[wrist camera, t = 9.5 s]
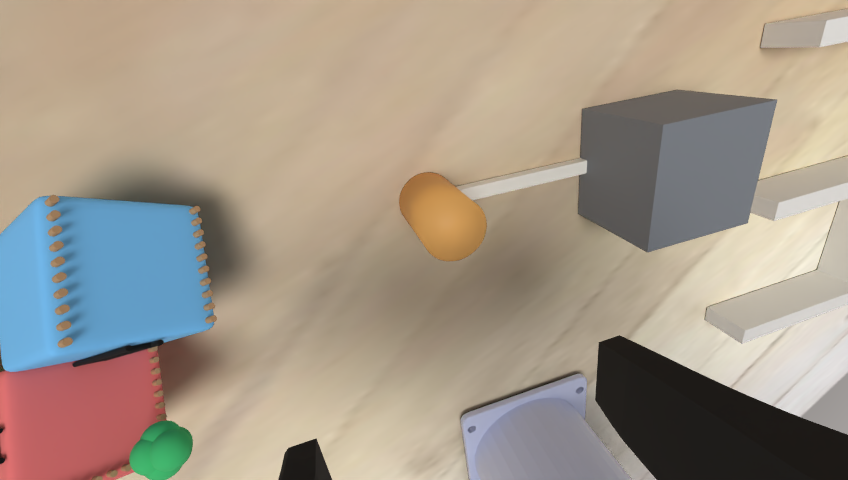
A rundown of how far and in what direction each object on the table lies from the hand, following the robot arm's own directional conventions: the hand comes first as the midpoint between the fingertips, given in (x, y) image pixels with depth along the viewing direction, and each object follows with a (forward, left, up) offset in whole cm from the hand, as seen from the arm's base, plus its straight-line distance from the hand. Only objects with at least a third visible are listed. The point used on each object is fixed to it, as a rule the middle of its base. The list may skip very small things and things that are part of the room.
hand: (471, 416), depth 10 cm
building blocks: (+1, +13, -10) cm, 16 cm away
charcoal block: (+2, -8, -9) cm, 12 cm away
